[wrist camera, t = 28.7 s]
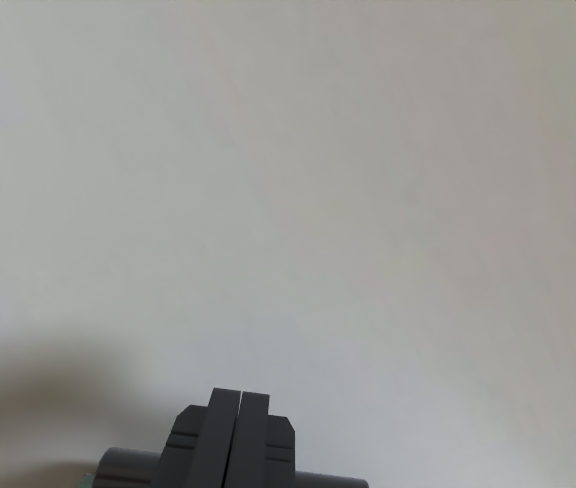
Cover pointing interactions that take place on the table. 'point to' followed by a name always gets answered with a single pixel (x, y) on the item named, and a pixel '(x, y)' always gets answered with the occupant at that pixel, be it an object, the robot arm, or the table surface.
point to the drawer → (141, 465)
